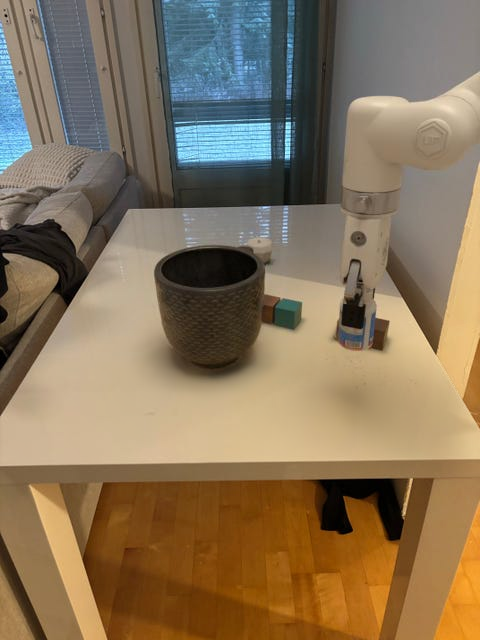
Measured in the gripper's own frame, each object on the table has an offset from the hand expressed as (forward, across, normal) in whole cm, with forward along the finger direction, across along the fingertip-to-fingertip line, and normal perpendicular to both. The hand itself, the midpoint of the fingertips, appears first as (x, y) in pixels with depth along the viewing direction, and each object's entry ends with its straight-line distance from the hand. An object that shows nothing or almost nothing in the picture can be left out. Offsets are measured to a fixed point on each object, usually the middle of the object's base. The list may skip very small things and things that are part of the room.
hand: (357, 315), depth 71 cm
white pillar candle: (+16, +47, +37) cm, 62 cm away
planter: (+16, +3, +28) cm, 32 cm away
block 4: (+17, +20, 0) cm, 26 cm away
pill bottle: (+5, 0, 0) cm, 5 cm away
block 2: (+16, +20, +18) cm, 32 cm away
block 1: (+16, +20, +24) cm, 35 cm away
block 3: (+17, +20, +5) cm, 26 cm away
